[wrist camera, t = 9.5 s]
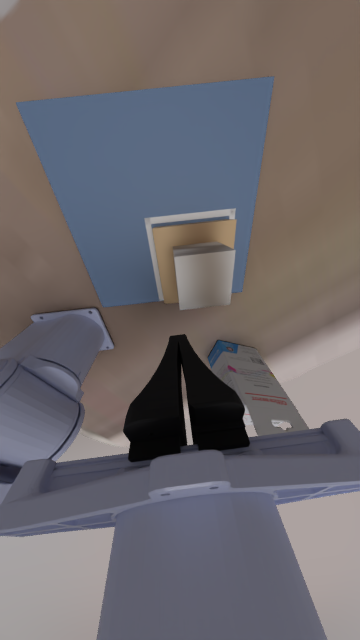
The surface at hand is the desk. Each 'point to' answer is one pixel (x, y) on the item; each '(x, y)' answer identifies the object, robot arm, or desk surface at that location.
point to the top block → (203, 274)
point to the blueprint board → (151, 172)
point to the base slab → (185, 236)
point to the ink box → (255, 388)
